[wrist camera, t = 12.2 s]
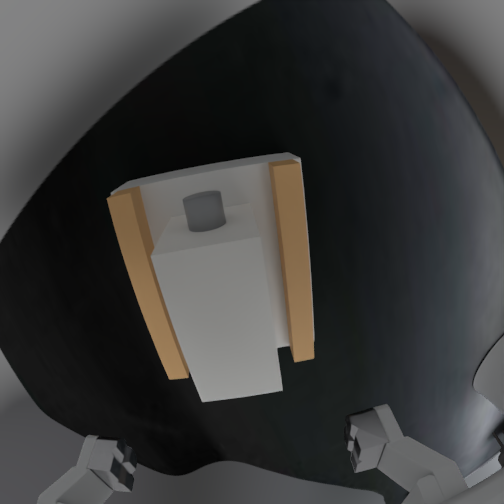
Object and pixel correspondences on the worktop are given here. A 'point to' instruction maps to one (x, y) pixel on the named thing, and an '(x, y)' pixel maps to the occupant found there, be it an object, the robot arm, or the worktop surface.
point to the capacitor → (503, 455)
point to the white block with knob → (219, 297)
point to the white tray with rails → (233, 193)
